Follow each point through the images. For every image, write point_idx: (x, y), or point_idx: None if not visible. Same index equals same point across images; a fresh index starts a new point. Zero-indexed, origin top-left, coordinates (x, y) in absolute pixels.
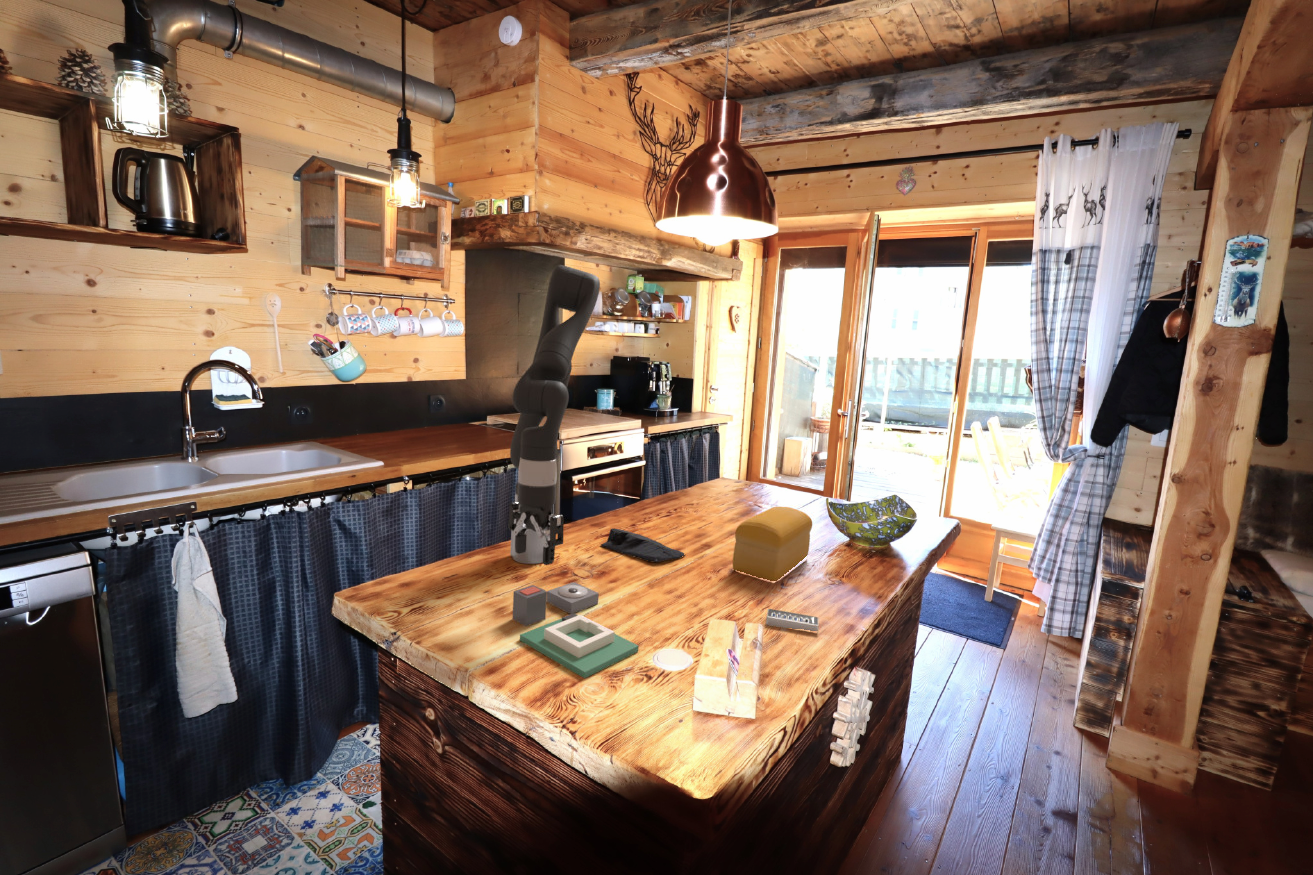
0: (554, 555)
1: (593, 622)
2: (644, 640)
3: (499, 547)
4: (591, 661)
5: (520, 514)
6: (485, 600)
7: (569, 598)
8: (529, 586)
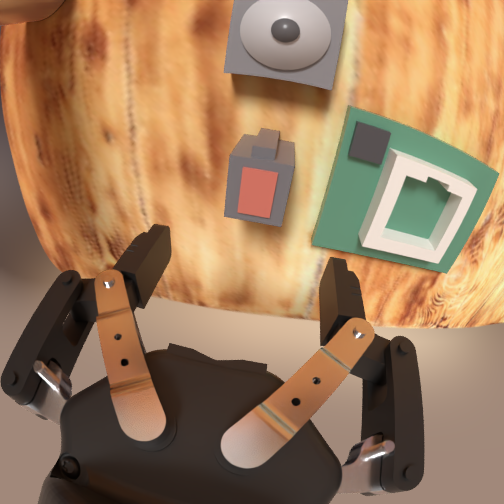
0: (360, 291)
1: (435, 174)
2: (493, 127)
3: (2, 26)
4: (450, 250)
5: (52, 344)
6: (137, 162)
7: (307, 69)
8: (230, 170)
